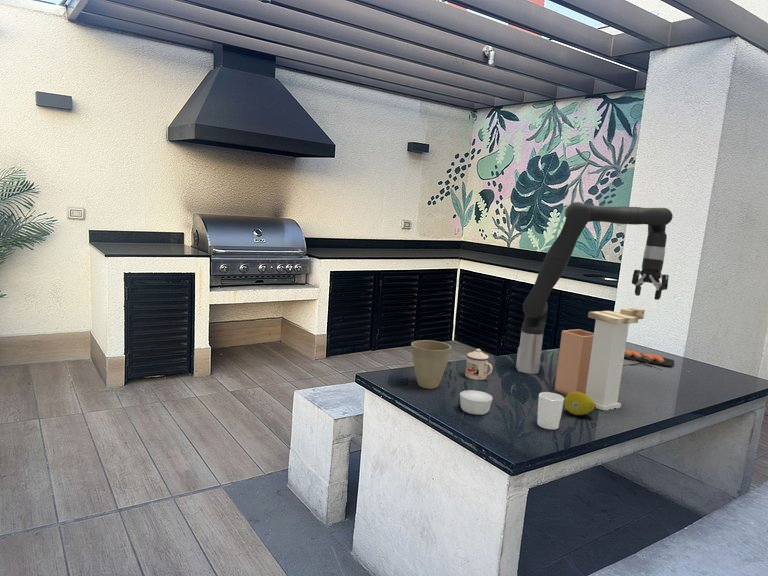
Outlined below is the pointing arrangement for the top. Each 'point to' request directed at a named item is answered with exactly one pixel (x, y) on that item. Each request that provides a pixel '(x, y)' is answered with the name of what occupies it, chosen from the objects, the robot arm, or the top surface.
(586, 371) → the tall open box
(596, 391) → the pedestal
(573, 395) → the lemon
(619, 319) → the tan t-shaped block
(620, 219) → the robot arm
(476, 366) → the teacup with lid
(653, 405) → the top surface
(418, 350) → the plant pot
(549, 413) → the white cup
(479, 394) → the ramekin
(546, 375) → the top surface
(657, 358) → the sushi plate
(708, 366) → the top surface
